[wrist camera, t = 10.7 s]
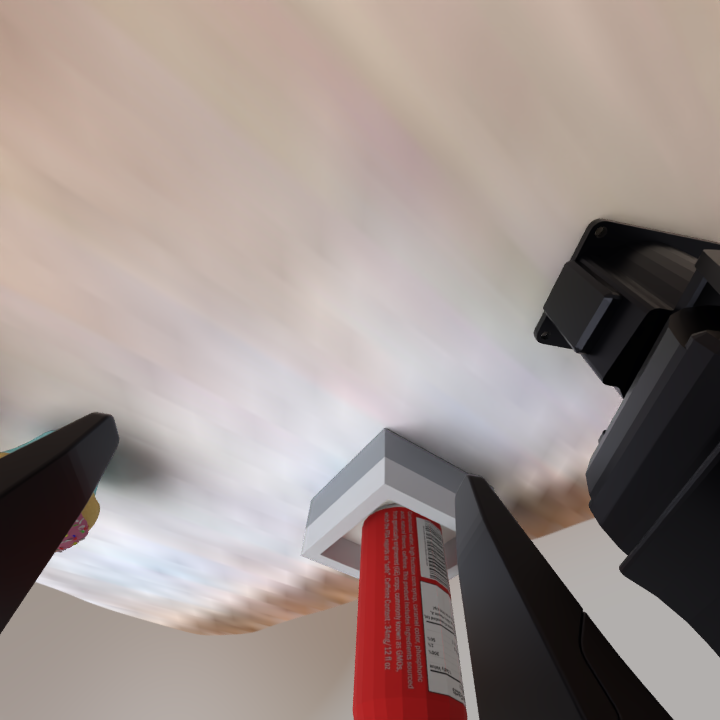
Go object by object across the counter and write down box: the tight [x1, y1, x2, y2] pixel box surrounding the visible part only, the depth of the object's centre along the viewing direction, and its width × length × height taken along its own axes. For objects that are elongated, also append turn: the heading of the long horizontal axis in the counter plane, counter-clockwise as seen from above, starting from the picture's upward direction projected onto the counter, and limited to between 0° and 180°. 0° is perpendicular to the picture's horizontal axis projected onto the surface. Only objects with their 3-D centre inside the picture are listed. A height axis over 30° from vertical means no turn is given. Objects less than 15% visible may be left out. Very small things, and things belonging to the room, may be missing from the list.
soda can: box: [353, 504, 467, 720], centre depth 22 cm, size 6×6×12 cm
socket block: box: [301, 428, 494, 580], centre depth 27 cm, size 10×10×4 cm
